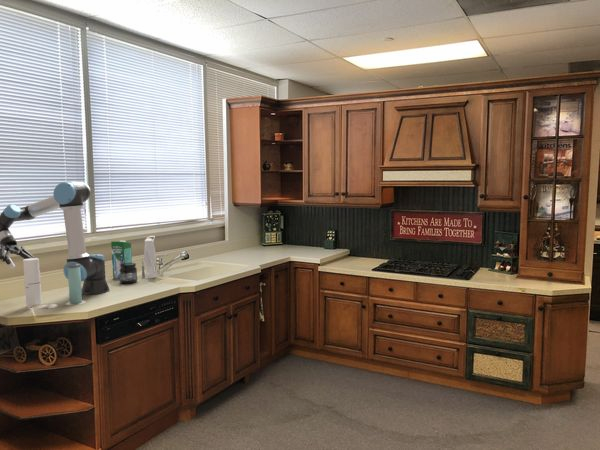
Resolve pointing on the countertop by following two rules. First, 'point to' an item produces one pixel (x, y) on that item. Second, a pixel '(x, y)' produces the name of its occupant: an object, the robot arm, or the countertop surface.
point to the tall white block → (32, 282)
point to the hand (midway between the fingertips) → (24, 268)
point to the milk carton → (120, 256)
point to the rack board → (56, 305)
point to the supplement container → (128, 273)
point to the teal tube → (74, 283)
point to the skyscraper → (149, 259)
